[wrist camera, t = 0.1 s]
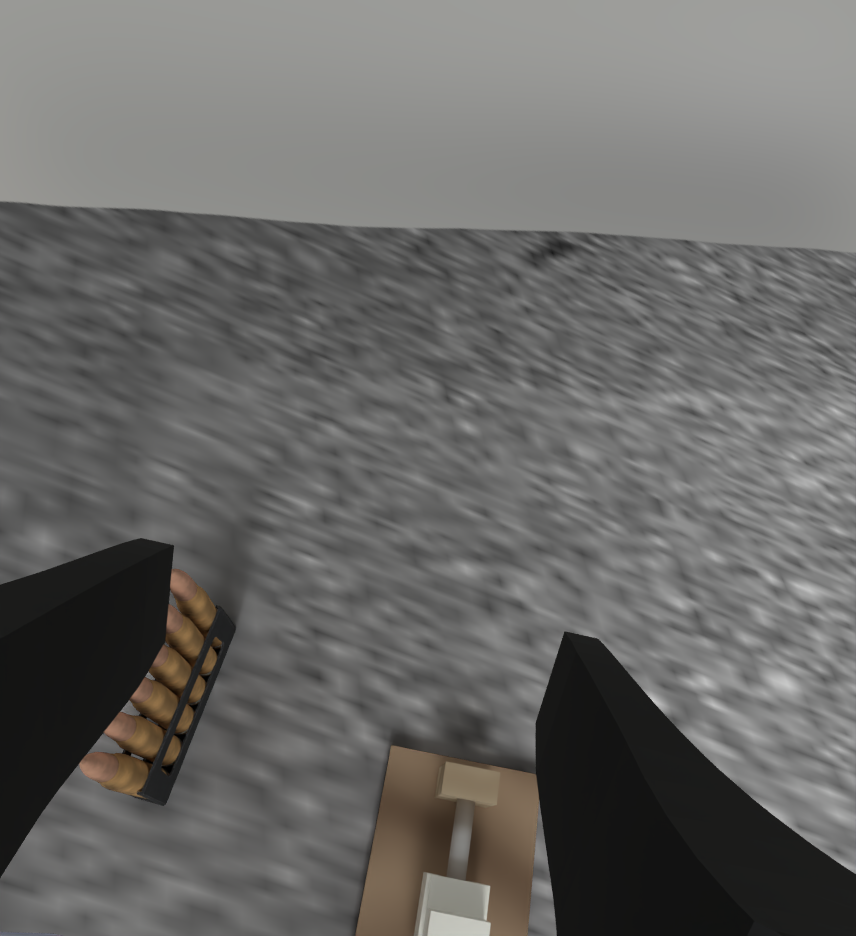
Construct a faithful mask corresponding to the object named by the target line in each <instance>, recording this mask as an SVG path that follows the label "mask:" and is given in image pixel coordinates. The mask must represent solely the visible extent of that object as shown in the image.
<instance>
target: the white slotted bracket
mask: <svg viewBox="0 0 856 936" xmlns="http://www.w3.org/2000/svg"><path fill="white" fill-rule="evenodd" d="M489 893H490V886H488V885H485V884H481V883H476V882H471V881H463V880H458V879H454V878H449V877H444V876H440V875H437V874H432V873H427V872H423V879H422V885H421V892H420V898H419V905H418V911H417V918H416V924H415V931H414V936H489V935H490V925H491V923H490V922H488V921H486V920H487V911H488V902H489Z"/></svg>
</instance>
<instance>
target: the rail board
mask: <svg viewBox="0 0 856 936" xmlns="http://www.w3.org/2000/svg"><path fill="white" fill-rule="evenodd" d="M538 805H539V794H538V786H537V778H536V774H532V773H527V772H522V771H517V770H512V769H507V768H502V767H497V766H492V765H487V764H482V763H477V762H472V761H467V760H462V759H457V758H452V757H447V756H442V755H438V754H433V753H428V752H423V751H418V750H413V749H408V748H403V747H398V746H393V745H391V749H390V754H389V760H388V765H387V770H386V775H385V781H384V786H383V791H382V797H381V802H380V807H379V812H378V818H377V823H376V828H375V834H374V839H373V844H372V849H371V855H370V860H369V865H368V871H367V876H366V881H365V886H364V892H363V897H362V902H361V908H360V913H359V918H358V923H357V929H356V934H355V936H414V931H415V924H416V918H417V911H418V905H419V898H420V892H421V885H422V879H423V872H427V873H432V874H437V875H440V876H444V877H449V878H454V879H458V880H463V881H471V882H476V883H481V884H485V885H488V886H490V893H489V902H488V911H487V920H486V921H488V922H490V923H491V925H490V935H489V936H527V934H528V923H529V911H530V899H531V887H532V876H533V864H534V852H535V840H536V829H537V817H538Z"/></svg>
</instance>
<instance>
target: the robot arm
mask: <svg viewBox="0 0 856 936" xmlns="http://www.w3.org/2000/svg"><path fill="white" fill-rule="evenodd" d="M173 550H174V545H170V544H165V543H161V542H156V541H152V540H147V539H143V538H140V539H136V540H132V541H128V542H125V543H122V544H119V545H116V546H113V547H110V548H107V549H104V550H102V551H99V552H96V553H93V554H90V555H88V556H85V557H82V558H79V559H76V560H74V561H71V562H68V563H65V564H62V565H59V566H57V567H54V568H51V569H48V570H45V571H42V572H39V573H36V574H33V575H30V576H27V577H24V578H20V579H17V580H14V581H11V582H8V583H4V584H1V585H0V877H1V876H2V874H3V873H4V871H5V869H6V868H7V866H8V865H9V863H10V861H11V860H12V858H13V857H14V855H15V854H16V852H17V851H18V849H19V847H20V846H21V844H22V843H23V841H24V840H25V838H26V836H27V835H28V833H29V832H30V830H31V829H32V827H33V826H34V824H35V822H36V821H37V819H38V818H39V816H40V815H41V813H42V812H43V810H44V809H45V808H46V806H47V805H48V803H49V802H50V801H51V799H52V798H53V797H54V795H55V794H56V792H57V791H58V790H59V788H60V787H61V786H62V785H63V783H64V782H65V781H66V779H67V778H68V777H69V776H70V774H71V773H72V772H73V771H74V769H75V768H76V767H77V766H78V764H79V763H80V762H81V760H82V759H83V758H84V757H85V755H86V754H87V753H88V752H89V750H90V749H91V748H92V747H93V745H94V744H95V743H96V741H97V740H98V739H99V738H100V736H101V735H102V734H103V733H104V731H105V730H106V729H107V728H108V726H109V725H110V724H111V722H112V721H113V720H114V719H115V717H116V716H117V715H118V713H119V712H120V711H121V710H122V708H123V707H124V706H125V704H126V703H127V702H128V701H129V699H130V698H131V697H132V695H133V694H134V693H135V691H136V690H137V689H138V687H139V686H140V684H141V682H142V681H143V679H144V678H145V676H146V674H147V673H148V671H149V669H150V668H151V666H152V664H153V662H154V661H155V659H156V657H157V655H158V653H159V652H160V650H161V648H162V646H163V645H164V643H165V640H166V628H167V617H168V606H169V595H170V584H171V573H172V561H173ZM536 778H537V786H538V794H539V801H540V808H541V815H542V822H543V829H544V836H545V843H546V850H547V857H548V864H549V871H550V878H551V885H552V892H553V899H554V909H555V918H556V929H557V936H856V874H854V873H853V872H851V871H850V870H848V869H847V868H845V867H844V866H842V865H841V864H839V863H838V862H836V861H835V860H833V859H832V858H831V857H829V856H828V855H826V854H825V853H823V852H822V851H820V850H819V849H818V848H816V847H815V846H813V845H812V844H811V843H809V842H808V841H806V840H805V839H804V838H803V837H801V836H800V835H799V834H797V833H796V832H795V831H793V830H792V829H791V828H789V827H788V826H787V825H785V824H784V823H783V822H781V821H780V820H779V819H777V818H776V817H775V816H773V815H772V814H771V813H770V812H768V811H767V810H766V809H765V808H763V807H762V806H761V805H760V804H758V803H757V802H756V801H755V800H753V799H752V798H751V797H750V796H749V795H748V794H746V793H745V792H744V791H743V790H742V789H741V788H740V787H738V786H737V785H736V784H735V783H734V782H733V781H732V780H730V779H729V778H728V777H727V776H726V775H725V774H724V773H722V772H721V771H720V770H719V769H718V768H717V767H716V766H715V765H714V764H713V763H711V762H710V761H709V760H708V759H707V758H706V757H705V756H704V755H703V754H702V753H701V752H700V751H699V750H698V749H697V748H696V747H695V746H694V745H693V744H692V743H691V742H690V741H689V740H688V739H687V738H686V737H685V736H684V735H683V734H682V733H681V732H680V731H679V730H678V729H677V728H676V726H675V725H674V724H673V723H672V722H671V721H670V720H669V719H668V718H667V717H666V716H665V715H664V714H663V712H662V711H661V710H660V709H659V708H658V707H657V706H656V705H655V704H654V702H653V701H652V700H651V699H650V698H649V697H648V696H647V694H646V693H645V692H644V691H643V690H642V689H641V687H640V686H639V685H638V684H637V683H636V682H635V680H634V679H633V678H632V677H631V676H630V675H629V673H628V672H627V671H626V670H625V669H624V667H623V666H622V665H621V664H620V663H619V662H618V660H617V659H616V658H615V657H614V656H613V654H612V653H611V652H610V651H609V650H608V649H607V648H606V647H605V645H604V644H603V643H602V642H601V641H600V640H599V639H597V638H592V637H588V636H583V635H579V634H574V633H570V632H564V635H563V638H562V641H561V645H560V648H559V651H558V654H557V657H556V660H555V664H554V667H553V670H552V673H551V676H550V679H549V683H548V686H547V689H546V692H545V695H544V698H543V701H542V705H541V708H540V711H539V714H538V717H537V720H536ZM0 936H62V935H58V934H53V933H19V932H0Z"/></svg>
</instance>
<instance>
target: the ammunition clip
mask: <svg viewBox="0 0 856 936" xmlns="http://www.w3.org/2000/svg"><path fill="white" fill-rule="evenodd" d="M170 590H171V592H172V594H173V595H174V598H175V599H176V604H177V607H178V609H179V610H180V612H181V613H182V614H181V613H180V612H178V610H177V609H176V608H175V607H173V606H172V605H170V604H169V606H168V617H167V628H166V640H165V641H166V642H167V644H168V645H169V646H170V647H167V646H166V645H163V646H162V648H161V650H160V652H159V653H158V655H157V657H156V659H155V661H154V662H153V664H152V666H151V668H150V669H149V672H150V673H151V675H152V676H153V677H154V678H155V680H150V679H148V678H146V677H145V678H144V679H143V681H142V682H141V684H140V686H139V687H138V689H137V690H136V691H135V693H134V694H133V695H132V697H131V698H130V699H129V700H130V701H131V702H132V704H133V706H134V707H135V708H136V710H137V711H139V712H140V715H139V716H132V715H128V714H126V713H123V712H119V713H118V715H117V716H116V717H115V719H114V720H113V721H112V722H111V724H110V725H109V726H108V728H107V729H106V730H105V731H104V733H105V734H106V735H107V736H108V737H110V738H112V739H113V740H114V741H116V743H117V744H118V745H119V746H120V747H121V748H122V749H124V750H123V753H122V754H121V753H116V754H109V753H104V752H94V753H90V754H87V755H85V757H84V758H83V759H82V760H81V762H80V768H81V770H82V772H83V773H84V774H85V775H86V776H87V777H89V778H90V779H92V780H95V781H97V782H99V783H100V784H101V785H102V786H103V787H105V788H106V789H109V790H112V791H116V792H120V793H124V794H128V795H130V796H133V797H135V798H138V799H142V800H145V801H148V802H152V803H155V804H159V805H162V806H164V805H166V803H167V800H168V798H169V795H170V793H171V790H172V788H173V785H174V783H175V780H176V778H177V775H178V773H179V770H180V768H181V765H182V763H183V760H184V758H185V755H186V753H187V750H188V748H189V745H190V743H191V740H192V738H193V735H194V733H195V730H196V728H197V725H198V723H199V720H200V718H201V715H202V713H203V710H204V708H205V705H206V703H207V700H208V698H209V695H210V693H211V690H212V688H213V685H214V683H215V680H216V678H217V675H218V673H219V670H220V668H221V665H222V663H223V660H224V658H225V655H226V653H227V650H228V648H229V645H230V643H231V640H232V638H233V635H234V633H235V630H236V628H235V625H234V624H233V622H232V621H231V620H230V618H229V617H228V616H227V614H226V613H225V612H224V610H223V609H222V608H221V607H220V606H217V605H216V608H217V609H216V608H215V606H214V604H213V603H212V601H211V600H210V598H209V596H208V595H207V593H206V592H205V591H204V590H203V589H202V588H201V587H199V586H198V585H197V584H196V583H195V582H194V581H193V579H192V578H191V577H190V576H189V575H188V574H187V573H185V572H183V571H181V570H179V569H172V573H171V584H170ZM217 610H218V611H217ZM147 717H148V718H150V719H151V720H153V721H154V722H156V723H157V724H158V726H157V725H155V724H154V723H152V722H150V721H148V720H147ZM131 753H133V754H135V755H138V756H140V757H142V758H144V759H143V761H142V760H140V759H137V758H134V757H132V756H131Z"/></svg>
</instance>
